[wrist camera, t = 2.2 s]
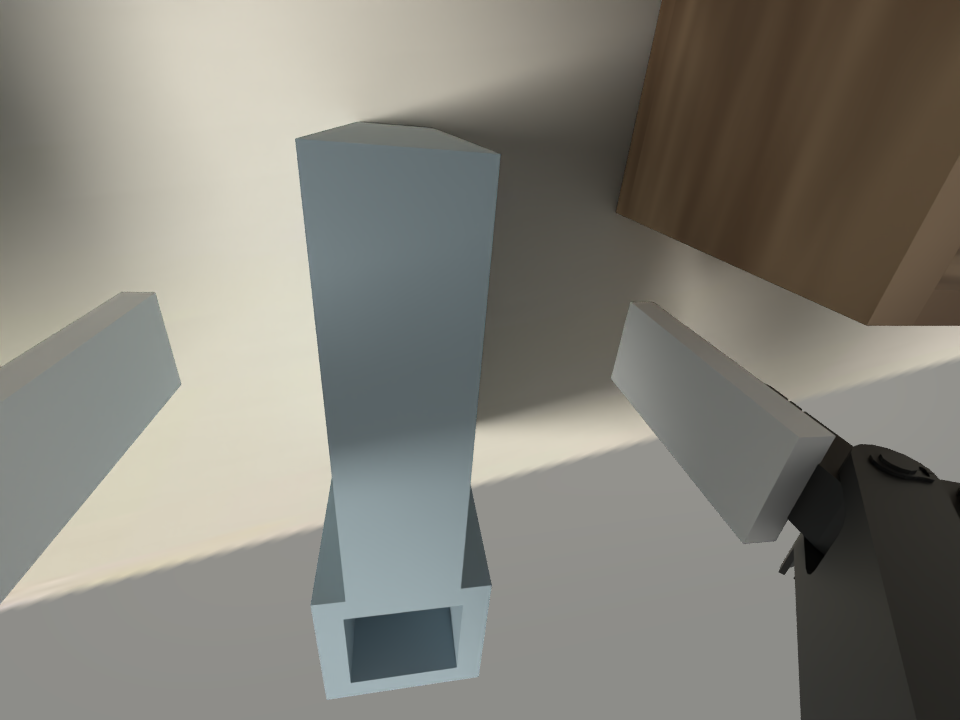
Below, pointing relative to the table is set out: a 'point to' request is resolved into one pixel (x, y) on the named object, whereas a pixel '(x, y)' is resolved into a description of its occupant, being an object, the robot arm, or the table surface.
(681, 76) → the cabinet
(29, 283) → the table surface
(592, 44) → the table surface
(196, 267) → the table surface
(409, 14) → the table surface
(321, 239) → the door
